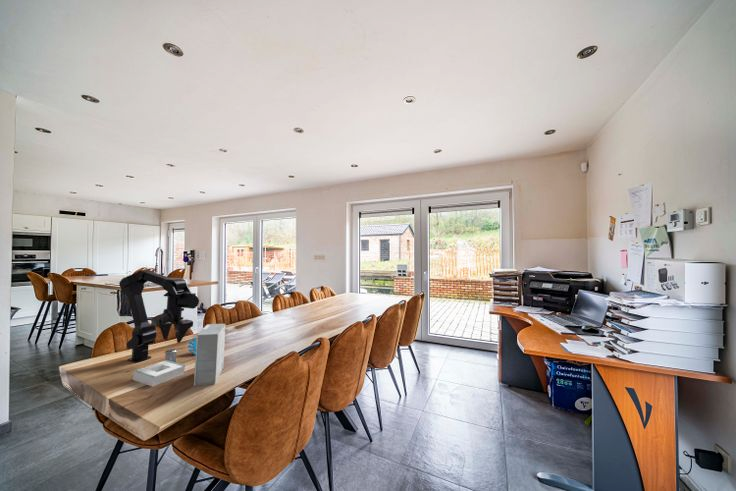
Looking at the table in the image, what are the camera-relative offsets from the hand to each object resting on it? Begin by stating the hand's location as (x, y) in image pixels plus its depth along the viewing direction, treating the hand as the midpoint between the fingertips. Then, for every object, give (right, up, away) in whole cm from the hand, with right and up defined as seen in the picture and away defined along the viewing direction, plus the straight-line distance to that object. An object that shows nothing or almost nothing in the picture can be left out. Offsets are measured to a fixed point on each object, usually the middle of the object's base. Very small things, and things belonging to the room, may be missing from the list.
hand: (171, 341), depth 122 cm
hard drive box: (+24, -11, -11) cm, 28 cm away
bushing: (0, -10, 0) cm, 10 cm away
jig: (+4, -10, -13) cm, 17 cm away
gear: (+4, -11, +14) cm, 18 cm away
